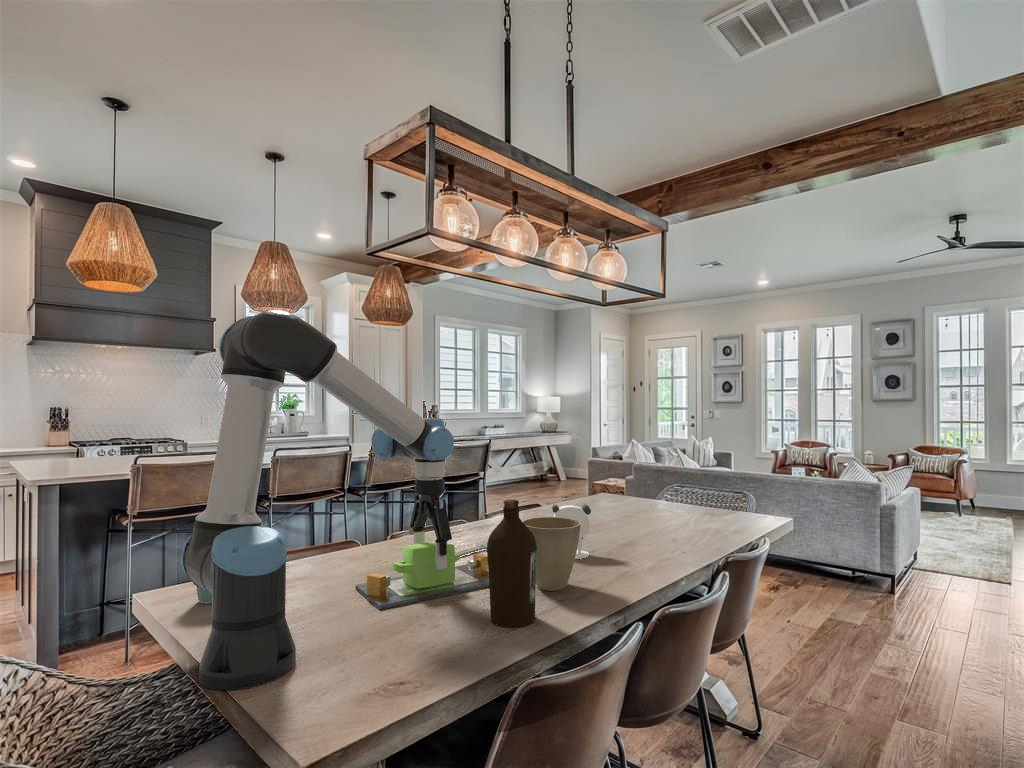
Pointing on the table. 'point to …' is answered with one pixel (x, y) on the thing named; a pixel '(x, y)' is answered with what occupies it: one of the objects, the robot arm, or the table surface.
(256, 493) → the robot arm
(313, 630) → the table surface
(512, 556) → the olive oil
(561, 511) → the panda figurine
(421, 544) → the green block with lugs
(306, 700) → the table surface
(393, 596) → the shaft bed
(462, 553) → the adjustable wrench
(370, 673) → the table surface
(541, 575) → the plant pot
